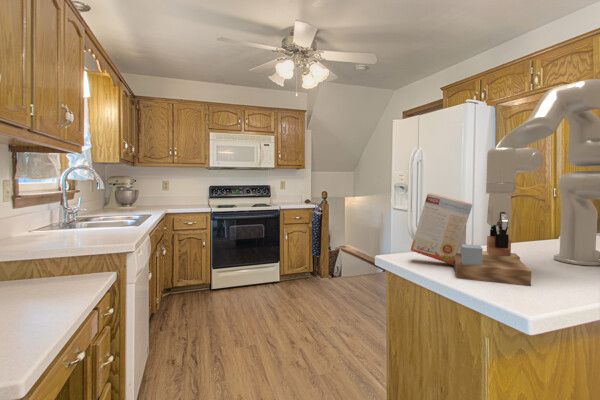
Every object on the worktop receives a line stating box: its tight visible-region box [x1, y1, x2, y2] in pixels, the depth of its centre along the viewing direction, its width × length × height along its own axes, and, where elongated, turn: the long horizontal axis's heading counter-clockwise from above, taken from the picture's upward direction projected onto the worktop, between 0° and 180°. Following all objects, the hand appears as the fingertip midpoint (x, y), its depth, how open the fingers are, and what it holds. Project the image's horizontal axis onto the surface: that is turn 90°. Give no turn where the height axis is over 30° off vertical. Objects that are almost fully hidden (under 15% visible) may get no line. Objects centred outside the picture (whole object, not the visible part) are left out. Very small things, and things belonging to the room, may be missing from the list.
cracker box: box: [410, 192, 473, 266], centre depth 107 cm, size 14×6×21 cm, turn 63°
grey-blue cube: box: [461, 243, 484, 266], centre depth 93 cm, size 5×5×5 cm
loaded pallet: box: [482, 235, 521, 264], centre depth 97 cm, size 10×6×7 cm, turn 66°
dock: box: [453, 253, 532, 287], centre depth 96 cm, size 18×16×4 cm
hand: (498, 244), depth 97 cm, fingers open, 9 cm apart
